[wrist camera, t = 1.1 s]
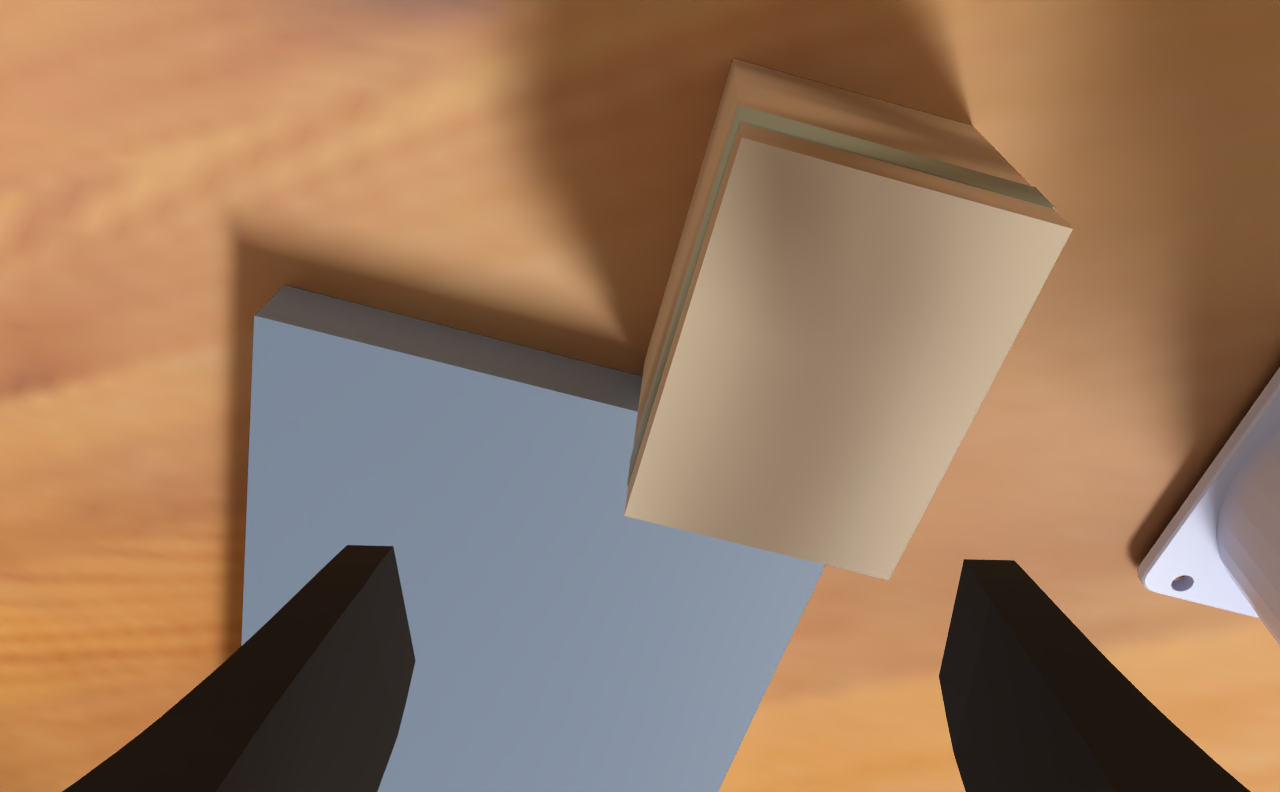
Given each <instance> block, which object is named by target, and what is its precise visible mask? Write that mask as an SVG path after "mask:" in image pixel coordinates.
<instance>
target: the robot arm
mask: <svg viewBox="0 0 1280 792" xmlns="http://www.w3.org/2000/svg"><path fill="white" fill-rule="evenodd" d="M1137 572H1138V577H1139V579H1140V581H1141V582H1142V584H1143V585H1144V587H1145V588H1146V589H1148V590H1150V591H1152V592H1155V593H1159V594H1163V595H1167V596H1171V597H1175V598H1179V599H1184V600H1188V601H1192V602H1196V603H1200V604H1204V605H1208V606H1212V607H1216V608H1220V609H1224V610H1228V611H1232V612H1236V613H1240V614H1244V615H1248V616H1252V617H1256V618H1260V619H1261V621H1262V622H1263V623H1264V625H1265V626H1266V628H1267V629H1268V630H1269V632H1270V633H1271V635H1272V636H1273V637H1274V639H1275V640H1276V641H1277V643H1278V644H1279V646H1280V367H1279V369H1278V370H1277V372H1276V373H1275V374H1274V376H1273V377H1272V379H1271V380H1270V382H1269V383H1268V384H1267V386H1266V387H1265V389H1264V390H1263V391H1262V393H1261V394H1260V396H1259V397H1258V399H1257V400H1256V401H1255V403H1254V404H1253V406H1252V407H1251V408H1250V410H1249V411H1248V413H1247V414H1246V415H1245V417H1244V418H1243V420H1242V421H1241V423H1240V424H1239V425H1238V427H1237V428H1236V430H1235V431H1234V432H1233V434H1232V435H1231V437H1230V438H1229V440H1228V441H1227V442H1226V444H1225V445H1224V447H1223V448H1222V449H1221V451H1220V452H1219V454H1218V455H1217V456H1216V458H1215V459H1214V461H1213V462H1212V464H1211V465H1210V466H1209V468H1208V469H1207V471H1206V472H1205V473H1204V475H1203V476H1202V478H1201V479H1200V481H1199V482H1198V483H1197V485H1196V486H1195V488H1194V489H1193V490H1192V492H1191V493H1190V495H1189V496H1188V497H1187V499H1186V500H1185V502H1184V503H1183V505H1182V506H1181V507H1180V509H1179V510H1178V512H1177V513H1176V514H1175V516H1174V517H1173V519H1172V520H1171V522H1170V523H1169V524H1168V526H1167V527H1166V529H1165V530H1164V531H1163V533H1162V534H1161V536H1160V537H1159V538H1158V540H1157V541H1156V543H1155V544H1154V546H1153V547H1152V548H1151V550H1150V551H1149V553H1148V554H1147V555H1146V557H1145V558H1144V560H1143V561H1142V563H1141V564H1140V566H1139V568H1138V570H1137ZM1182 575H1185V576H1184V577H1183V578H1182V579H1179V580H1176V581H1173V580H1174V579H1175V578H1177V577H1179V576H1182ZM415 661H416V660H415V655H414V650H413V645H412V640H411V634H410V629H409V624H408V619H407V614H406V609H405V603H404V598H403V593H402V588H401V583H400V578H399V572H398V567H397V562H396V557H395V552H394V547H393V546H367V545H347V546H346V547H344V548H343V549H342V550H341V551H340V552H339V553H338V554H337V555H336V556H335V557H334V558H333V559H332V560H331V561H330V562H328V563H327V564H326V565H325V566H324V567H323V568H322V569H321V570H320V571H319V572H318V573H317V574H316V575H315V576H314V577H313V578H312V579H311V580H310V581H309V582H308V583H307V584H306V585H305V586H304V587H303V588H302V589H301V590H300V591H299V592H298V593H297V594H296V595H295V596H294V597H292V598H291V599H290V600H289V601H288V602H287V603H286V604H285V605H284V606H283V607H282V608H281V609H280V610H279V611H278V612H277V613H276V614H275V615H274V616H273V617H272V618H271V619H270V620H269V621H268V622H267V623H266V624H265V625H263V626H262V627H261V628H260V629H259V630H258V631H257V632H256V633H255V634H254V635H253V636H252V637H251V638H250V639H249V640H247V641H246V642H245V643H244V644H243V645H242V646H241V647H240V648H239V649H238V650H237V651H236V652H235V653H234V654H232V655H231V656H230V657H229V658H228V659H227V660H226V661H225V662H224V663H223V664H222V665H221V666H219V667H218V668H217V669H216V670H215V671H214V672H213V673H212V674H210V675H209V676H208V677H207V678H206V679H205V680H203V681H202V682H201V683H200V684H199V685H198V686H196V687H195V688H194V689H193V690H192V691H191V692H190V693H188V694H187V695H186V696H185V697H184V698H183V699H181V700H180V701H179V702H178V703H177V704H176V705H174V706H173V707H172V708H171V709H170V710H169V711H167V712H166V713H165V714H164V715H163V716H162V717H161V718H159V719H158V720H157V721H156V722H154V723H153V724H152V725H151V726H149V727H148V728H147V729H146V730H144V731H143V732H142V733H141V734H139V735H138V736H137V737H135V738H134V739H133V740H132V741H130V742H129V743H128V744H126V745H125V746H124V747H123V748H121V749H120V750H119V751H117V752H116V753H115V754H113V755H112V756H111V757H109V758H108V759H107V760H105V761H104V762H103V763H101V764H100V765H98V766H97V767H96V768H94V769H93V770H92V771H90V772H89V773H88V774H86V775H85V776H84V777H82V778H81V779H80V780H78V781H77V782H75V783H74V784H73V785H71V786H70V787H68V788H67V789H66V790H64V791H63V792H377V791H378V789H379V786H380V783H381V781H382V778H383V775H384V772H385V770H386V767H387V764H388V761H389V759H390V756H391V753H392V750H393V748H394V745H395V742H396V739H397V736H398V733H399V729H400V725H401V721H402V717H403V713H404V709H405V705H406V701H407V697H408V692H409V688H410V683H411V679H412V674H413V670H414V666H415ZM939 679H940V684H941V690H942V695H943V701H944V706H945V712H946V717H947V722H948V727H949V732H950V737H951V742H952V746H953V751H954V755H955V759H956V762H957V765H958V768H959V772H960V775H961V778H962V781H963V784H964V787H965V790H966V792H1250V791H1249V790H1248V789H1247V788H1245V787H1244V786H1243V785H1242V784H1241V783H1240V782H1238V781H1237V780H1236V779H1235V778H1234V777H1233V776H1231V775H1230V774H1229V773H1228V772H1227V771H1225V770H1224V769H1223V768H1222V767H1221V766H1220V765H1219V764H1217V763H1216V762H1215V761H1214V760H1213V759H1212V758H1211V757H1210V756H1208V755H1207V754H1206V753H1205V752H1204V751H1203V750H1202V749H1201V748H1200V747H1199V746H1197V745H1196V744H1195V743H1194V742H1193V741H1192V740H1191V739H1190V738H1189V737H1187V736H1186V735H1185V734H1184V733H1183V732H1182V731H1181V730H1180V729H1179V728H1178V727H1176V726H1175V725H1174V724H1173V723H1172V722H1171V721H1170V720H1169V719H1168V718H1167V717H1166V716H1165V715H1164V714H1162V713H1161V712H1160V711H1159V710H1158V709H1157V708H1156V707H1155V706H1154V705H1153V704H1152V703H1151V702H1150V701H1149V700H1148V699H1147V698H1146V697H1145V696H1144V695H1143V694H1142V693H1141V692H1140V691H1139V690H1138V689H1137V688H1136V687H1135V686H1134V685H1133V684H1132V683H1131V682H1130V681H1129V680H1128V679H1127V678H1126V677H1125V676H1124V675H1123V674H1122V673H1121V672H1120V671H1119V670H1118V669H1117V668H1116V667H1115V666H1114V665H1113V664H1112V663H1111V662H1110V661H1109V660H1108V659H1107V658H1106V657H1105V656H1104V655H1103V654H1102V653H1101V652H1100V651H1099V650H1098V649H1097V648H1096V647H1095V646H1094V645H1093V644H1092V643H1091V642H1090V641H1089V640H1088V639H1087V637H1086V636H1085V635H1084V634H1083V633H1082V632H1081V631H1080V630H1079V629H1078V628H1077V627H1076V626H1075V625H1074V624H1073V623H1072V622H1071V621H1070V619H1069V618H1068V617H1067V616H1066V615H1065V614H1064V613H1063V612H1062V611H1061V610H1060V609H1059V608H1058V607H1057V606H1056V605H1055V603H1054V602H1053V601H1052V600H1051V599H1050V598H1049V597H1048V596H1047V595H1046V594H1045V593H1044V592H1043V591H1042V590H1041V588H1040V587H1039V586H1038V585H1037V584H1036V583H1035V582H1034V581H1033V580H1032V579H1031V578H1030V577H1029V576H1028V575H1027V573H1026V572H1025V571H1024V570H1023V569H1022V568H1021V567H1020V566H1019V565H1018V564H1017V563H1016V562H1015V561H1010V560H967V559H964V562H963V567H962V571H961V576H960V581H959V585H958V590H957V595H956V599H955V604H954V609H953V613H952V618H951V623H950V628H949V632H948V637H947V642H946V646H945V651H944V656H943V660H942V665H941V670H940V674H939Z"/></svg>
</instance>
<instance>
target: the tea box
mask: <svg viewBox="0 0 1280 792" xmlns="http://www.w3.org/2000/svg"><path fill="white" fill-rule="evenodd" d="M1054 209H1055V207H1054V206H1053V205H1052V204H1051V203H1050V202H1049V201H1048V200H1047V199H1046V198H1045V197H1044V196H1043V195H1042V194H1041V193H1040V192H1039V191H1038V190H1037V189H1036V188H1035V187H1032V186H1031V185H1030V184H1029V183H1028V182H1027V181H1026V180H1025V179H1024V178H1023V177H1022V176H1021V175H1020V174H1019V173H1018V172H1017V171H1016V170H1015V169H1014V168H1013V167H1012V166H1011V165H1010V164H1009V163H1008V161H1007V160H1006V159H1005V158H1004V157H1003V156H1002V155H1001V154H1000V153H999V152H998V151H997V150H996V149H995V148H994V147H993V146H992V145H991V144H990V143H989V142H988V141H987V140H986V139H985V138H984V137H983V136H982V135H981V134H980V133H979V132H978V131H977V130H976V129H975V128H974V126H972V125H968V124H965V123H961V122H958V121H954V120H951V119H947V118H943V117H940V116H936V115H933V114H929V113H926V112H922V111H919V110H915V109H912V108H908V107H904V106H901V105H897V104H894V103H890V102H887V101H883V100H880V99H876V98H872V97H869V96H865V95H862V94H858V93H855V92H851V91H848V90H844V89H841V88H837V87H833V86H830V85H826V84H823V83H819V82H816V81H812V80H809V79H805V78H802V77H798V76H794V75H791V74H787V73H784V72H780V71H777V70H773V69H770V68H766V67H762V66H759V65H755V64H752V63H748V62H745V61H741V60H738V59H734V58H733V60H732V64H731V67H730V70H729V74H728V77H727V81H726V84H725V88H724V91H723V94H722V98H721V101H720V105H719V108H718V111H717V115H716V118H715V122H714V125H713V128H712V132H711V135H710V139H709V142H708V146H707V149H706V152H705V156H704V159H703V163H702V166H701V169H700V173H699V176H698V180H697V183H696V186H695V190H694V193H693V197H692V200H691V204H690V207H689V210H688V214H687V217H686V221H685V224H684V227H683V231H682V234H681V238H680V241H679V244H678V248H677V251H676V255H675V258H674V262H673V265H672V268H671V272H670V275H669V279H668V282H667V285H666V289H665V292H664V296H663V299H662V302H661V306H660V309H659V313H658V316H657V320H656V323H655V326H654V330H653V333H652V337H651V340H650V343H649V347H648V350H647V354H646V357H645V361H644V369H643V376H642V384H641V391H640V399H639V407H638V414H637V422H636V429H635V437H634V445H633V451H632V454H631V459H630V466H629V474H628V481H627V487H628V490H627V498H626V505H625V513H624V516H627V517H631V518H635V519H639V520H643V521H648V522H652V523H656V524H660V525H664V526H668V527H672V528H676V529H680V530H684V531H689V532H693V533H697V534H701V535H705V536H709V537H713V538H717V539H721V540H725V541H730V542H734V543H738V544H742V545H746V546H750V547H754V548H758V549H762V550H766V551H771V552H775V553H779V554H783V555H787V556H791V557H795V558H799V559H803V560H808V561H812V562H816V563H820V564H824V565H828V566H832V567H836V568H840V569H844V570H849V571H853V572H857V573H861V574H865V575H869V576H873V577H877V578H881V579H885V580H889V578H890V576H891V574H892V572H893V571H894V569H895V567H896V565H897V563H898V561H899V559H900V557H901V555H902V553H903V551H904V550H905V548H906V546H907V544H908V542H909V540H910V538H911V536H912V534H913V532H914V531H915V529H916V527H917V525H918V523H919V521H920V519H921V517H922V515H923V513H924V512H925V510H926V508H927V506H928V504H929V502H930V500H931V498H932V496H933V494H934V492H935V491H936V489H937V487H938V485H939V483H940V481H941V479H942V477H943V475H944V473H945V472H946V470H947V468H948V466H949V464H950V462H951V460H952V458H953V456H954V454H955V453H956V451H957V449H958V447H959V445H960V443H961V441H962V439H963V437H964V435H965V434H966V432H967V430H968V428H969V426H970V424H971V422H972V420H973V418H974V416H975V414H976V413H977V411H978V409H979V407H980V405H981V403H982V401H983V399H984V397H985V395H986V394H987V392H988V390H989V388H990V386H991V384H992V382H993V380H994V378H995V376H996V375H997V373H998V371H999V369H1000V367H1001V365H1002V363H1003V361H1004V359H1005V357H1006V356H1007V354H1008V352H1009V350H1010V348H1011V346H1012V344H1013V342H1014V340H1015V338H1016V336H1017V335H1018V333H1019V331H1020V329H1021V327H1022V325H1023V323H1024V321H1025V319H1026V317H1027V316H1028V314H1029V312H1030V310H1031V308H1032V306H1033V304H1034V302H1035V300H1036V298H1037V297H1038V295H1039V293H1040V291H1041V289H1042V287H1043V285H1044V283H1045V281H1046V279H1047V278H1048V276H1049V274H1050V272H1051V270H1052V268H1053V266H1054V264H1055V262H1056V260H1057V258H1058V257H1059V255H1060V253H1061V251H1062V249H1063V247H1064V245H1065V243H1066V241H1067V239H1068V238H1069V236H1070V234H1071V232H1072V230H1073V228H1072V227H1071V226H1070V225H1069V224H1068V223H1067V222H1066V221H1065V220H1064V219H1063V218H1062V217H1061V216H1060V215H1059V214H1058V213H1057V212H1056V211H1055V210H1054Z"/></svg>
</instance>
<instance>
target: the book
mask: <svg viewBox="0 0 1280 792" xmlns="http://www.w3.org/2000/svg"><path fill="white" fill-rule="evenodd" d="M641 384H642V376H638V375H635V374H631V373H627V372H623V371H619V370H615V369H611V368H607V367H603V366H599V365H595V364H592V363H588V362H584V361H580V360H576V359H572V358H568V357H564V356H560V355H556V354H552V353H548V352H545V351H541V350H537V349H533V348H529V347H525V346H521V345H517V344H513V343H509V342H505V341H501V340H498V339H494V338H490V337H486V336H482V335H478V334H474V333H470V332H466V331H462V330H458V329H454V328H451V327H447V326H443V325H439V324H435V323H431V322H427V321H423V320H419V319H415V318H411V317H407V316H404V315H400V314H396V313H392V312H388V311H384V310H380V309H376V308H372V307H368V306H364V305H361V304H357V303H353V302H349V301H345V300H341V299H337V298H333V297H329V296H325V295H321V294H317V293H314V292H310V291H306V290H302V289H298V288H294V287H290V286H286V285H284V286H283V287H282V288H281V289H280V290H279V291H278V292H277V293H276V294H275V295H274V296H273V297H272V298H271V299H270V300H269V301H268V302H267V303H266V304H265V305H264V306H263V307H262V308H261V309H260V310H259V311H258V312H257V313H256V314H255V315H254V334H253V359H252V385H251V410H250V436H249V462H248V487H247V513H246V538H245V564H244V590H243V615H242V641H241V646H242V645H243V644H244V643H245V642H246V641H247V640H249V639H250V638H251V637H252V636H253V635H254V634H255V633H256V632H257V631H258V630H259V629H260V628H261V627H262V626H263V625H265V624H266V623H267V622H268V621H269V620H270V619H271V618H272V617H273V616H274V615H275V614H276V613H277V612H278V611H279V610H280V609H281V608H282V607H283V606H284V605H285V604H286V603H287V602H288V601H289V600H290V599H291V598H292V597H294V596H295V595H296V594H297V593H298V592H299V591H300V590H301V589H302V588H303V587H304V586H305V585H306V584H307V583H308V582H309V581H310V580H311V579H312V578H313V577H314V576H315V575H316V574H317V573H318V572H319V571H320V570H321V569H322V568H323V567H324V566H325V565H326V564H327V563H328V562H330V561H331V560H332V559H333V558H334V557H335V556H336V555H337V554H338V553H339V552H340V551H341V550H342V549H343V548H344V547H346V546H347V545H367V546H393V547H394V552H395V557H396V562H397V567H398V572H399V578H400V583H401V588H402V593H403V598H404V603H405V609H406V614H407V619H408V624H409V629H410V634H411V640H412V645H413V650H414V655H415V660H416V661H415V666H414V670H413V674H412V679H411V683H410V688H409V692H408V697H407V701H406V705H405V709H404V713H403V717H402V721H401V725H400V729H399V733H398V736H397V739H396V742H395V745H394V748H393V750H392V753H391V756H390V759H389V761H388V764H387V767H386V770H385V772H384V775H383V778H382V781H381V783H380V786H379V789H378V791H377V792H718V791H719V789H720V787H721V785H722V782H723V780H724V778H725V776H726V774H727V772H728V770H729V768H730V766H731V763H732V761H733V759H734V757H735V755H736V753H737V751H738V749H739V747H740V744H741V742H742V740H743V738H744V736H745V734H746V732H747V730H748V728H749V725H750V723H751V721H752V719H753V717H754V715H755V713H756V711H757V708H758V706H759V704H760V702H761V700H762V698H763V696H764V694H765V692H766V689H767V687H768V685H769V683H770V681H771V679H772V677H773V675H774V673H775V670H776V668H777V666H778V664H779V662H780V660H781V658H782V656H783V654H784V651H785V649H786V647H787V645H788V643H789V641H790V639H791V637H792V635H793V632H794V630H795V628H796V626H797V624H798V622H799V620H800V618H801V615H802V613H803V611H804V609H805V607H806V605H807V603H808V601H809V599H810V596H811V594H812V592H813V590H814V588H815V586H816V584H817V582H818V580H819V577H820V575H821V573H822V571H823V569H824V567H825V565H824V564H820V563H816V562H812V561H808V560H803V559H799V558H795V557H791V556H787V555H783V554H779V553H775V552H771V551H766V550H762V549H758V548H754V547H750V546H746V545H742V544H738V543H734V542H730V541H725V540H721V539H717V538H713V537H709V536H705V535H701V534H697V533H693V532H689V531H684V530H680V529H676V528H672V527H668V526H664V525H660V524H656V523H652V522H648V521H643V520H639V519H635V518H631V517H627V516H624V513H625V505H626V498H627V490H628V487H627V481H628V474H629V466H630V459H631V454H632V451H633V445H634V437H635V429H636V422H637V414H638V407H639V399H640V391H641Z"/></svg>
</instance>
